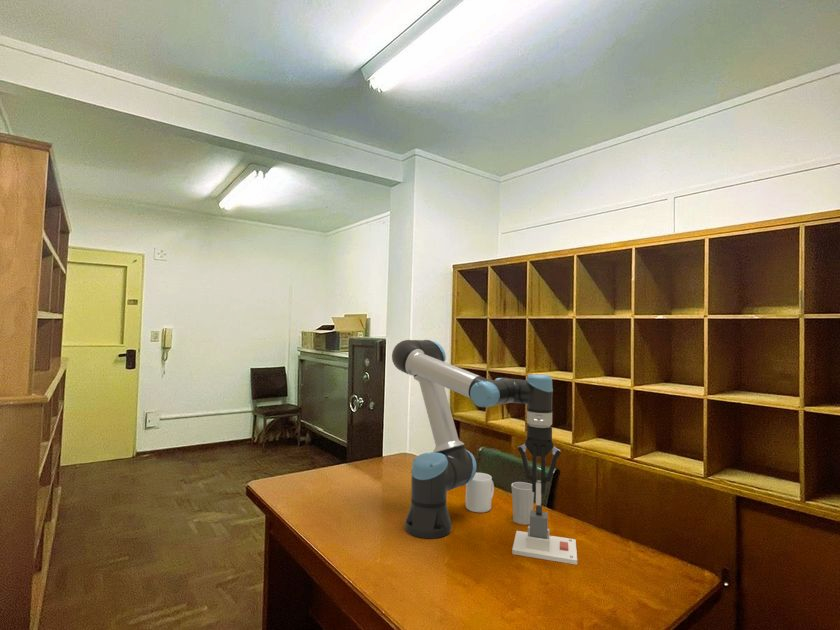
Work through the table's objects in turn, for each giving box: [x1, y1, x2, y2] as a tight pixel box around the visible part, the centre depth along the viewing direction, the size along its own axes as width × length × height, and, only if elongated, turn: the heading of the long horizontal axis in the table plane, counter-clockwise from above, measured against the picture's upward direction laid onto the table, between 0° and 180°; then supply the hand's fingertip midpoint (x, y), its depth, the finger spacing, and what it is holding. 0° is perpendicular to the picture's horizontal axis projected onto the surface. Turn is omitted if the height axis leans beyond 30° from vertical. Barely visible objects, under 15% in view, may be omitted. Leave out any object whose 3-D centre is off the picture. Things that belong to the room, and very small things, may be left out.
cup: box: [510, 481, 535, 525], centre depth 156 cm, size 8×8×12 cm
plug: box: [529, 504, 549, 539], centre depth 136 cm, size 5×5×12 cm
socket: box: [511, 525, 578, 566], centre depth 135 cm, size 18×14×4 cm
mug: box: [465, 472, 495, 514], centre depth 167 cm, size 10×12×12 cm
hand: (538, 503), depth 137 cm, fingers closed
